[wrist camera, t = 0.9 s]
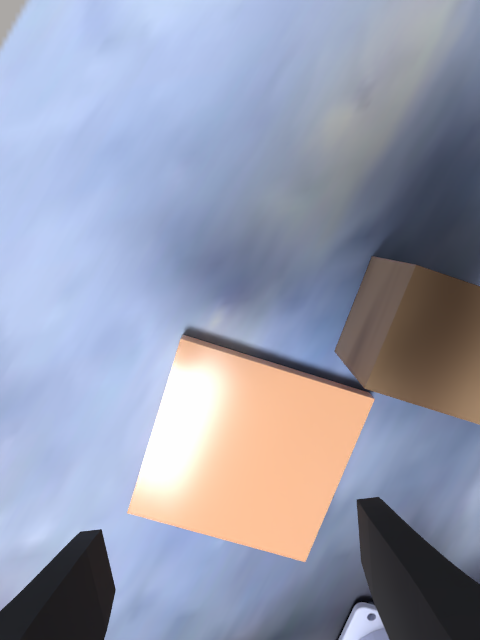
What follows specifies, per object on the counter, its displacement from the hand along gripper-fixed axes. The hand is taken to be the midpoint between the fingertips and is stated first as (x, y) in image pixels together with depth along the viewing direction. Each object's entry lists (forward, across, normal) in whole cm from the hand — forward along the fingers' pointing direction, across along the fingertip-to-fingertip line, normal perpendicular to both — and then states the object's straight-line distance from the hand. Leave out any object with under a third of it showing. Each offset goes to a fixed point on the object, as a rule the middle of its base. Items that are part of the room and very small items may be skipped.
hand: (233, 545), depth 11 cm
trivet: (+10, 0, +3) cm, 10 cm away
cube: (+10, -9, -3) cm, 14 cm away
